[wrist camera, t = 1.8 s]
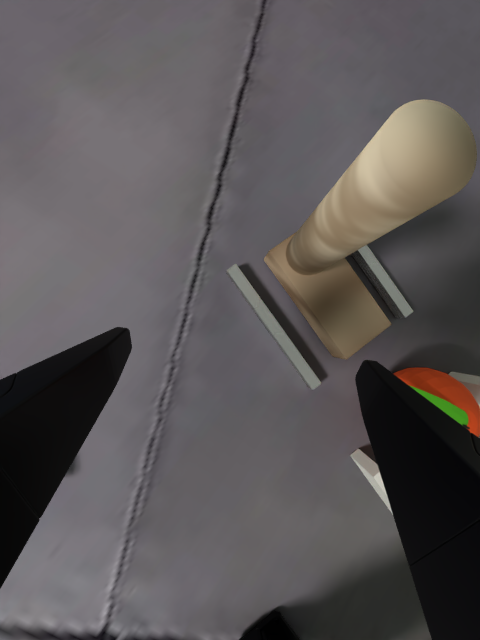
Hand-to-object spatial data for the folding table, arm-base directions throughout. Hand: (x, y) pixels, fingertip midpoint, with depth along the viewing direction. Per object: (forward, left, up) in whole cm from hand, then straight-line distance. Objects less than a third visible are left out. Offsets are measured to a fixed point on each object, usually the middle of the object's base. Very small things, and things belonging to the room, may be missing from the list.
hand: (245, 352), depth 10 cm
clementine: (-13, -9, -14) cm, 21 cm away
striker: (-1, -9, -13) cm, 16 cm away
